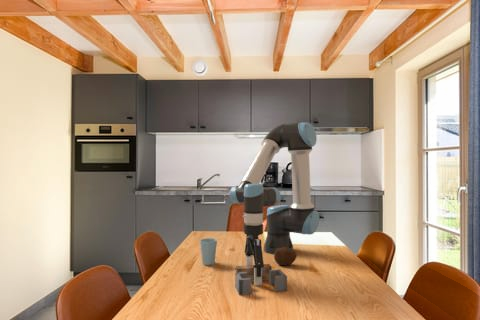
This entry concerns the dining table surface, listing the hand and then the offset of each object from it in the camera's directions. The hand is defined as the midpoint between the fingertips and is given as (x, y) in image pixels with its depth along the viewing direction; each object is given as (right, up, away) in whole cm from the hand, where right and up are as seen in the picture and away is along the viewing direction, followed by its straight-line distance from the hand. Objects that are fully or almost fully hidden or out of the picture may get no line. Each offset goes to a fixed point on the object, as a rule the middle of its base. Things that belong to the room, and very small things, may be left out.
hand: (253, 278), depth 121 cm
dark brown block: (0, 0, 0) cm, 0 cm away
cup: (-19, -1, +19) cm, 27 cm away
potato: (+15, -1, +16) cm, 22 cm away
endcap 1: (-4, 0, -11) cm, 12 cm away
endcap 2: (+9, 0, -8) cm, 12 cm away
